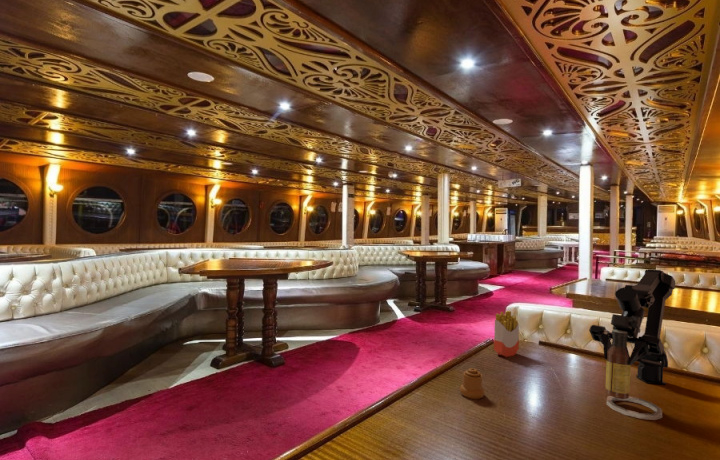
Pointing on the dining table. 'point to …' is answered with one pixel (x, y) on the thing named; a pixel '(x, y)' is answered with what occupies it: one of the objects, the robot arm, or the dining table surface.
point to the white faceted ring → (631, 413)
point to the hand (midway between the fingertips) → (617, 361)
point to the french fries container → (506, 334)
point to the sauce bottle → (618, 366)
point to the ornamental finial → (472, 384)
